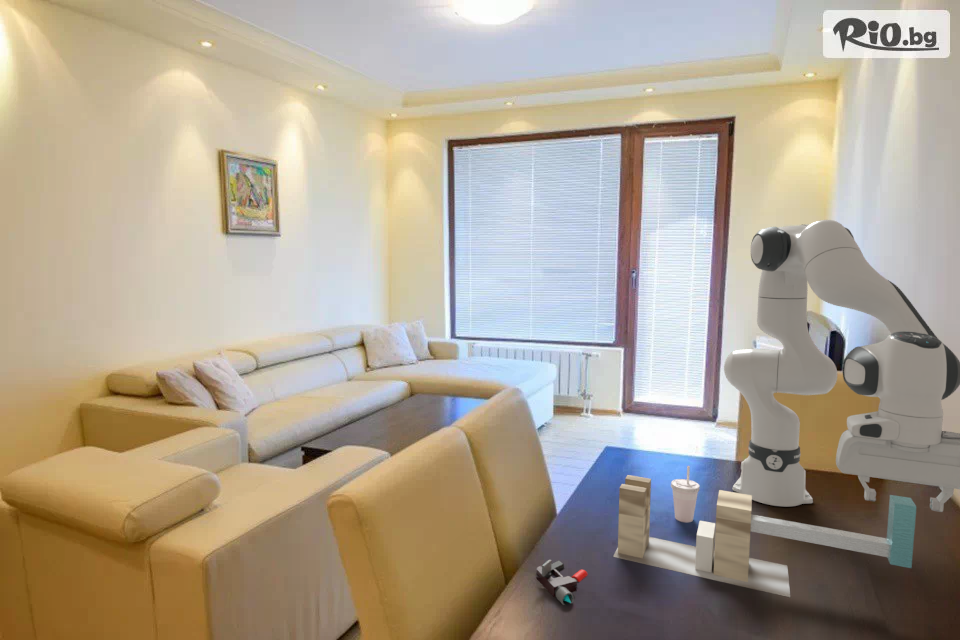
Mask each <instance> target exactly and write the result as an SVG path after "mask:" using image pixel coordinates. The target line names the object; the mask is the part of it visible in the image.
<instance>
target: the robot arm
mask: <svg viewBox="0 0 960 640" xmlns="http://www.w3.org/2000/svg"><path fill="white" fill-rule="evenodd" d="M750 258H751V262H752V263H753V265H754V266H755V268H757V269H759V270H760V271H761V272H760V277H759V278H760V279H759V285H758V294H757V295H758V296H757V313H756V314H757V315H756V316H757V317H756V322H757V326H758V328H759V329H760V330H761V331H762V332H763V333H765V334H766V335H767V336H770V337H772V338H774V339H776V340H777V341H779V342H780V343H781V345H782V347H783V348H782V349H780V350H779V349H770V348H769V349H766V348H754V347H753V348H752V347H751V348H742V349H736V350H732V351H731V352H730V353H729V354H728V356H727V357H726V359H725V361H724V365H723V369H724V370H723V371H724V375H725V378H726V379H727V381H728V382H729V383H730V385H732V386H733V387H734V388H735V389H737V390H738V392H740V394H741V395H742V396H743V398H744V399H745V401H746V403H747V405H748V408H749V411H750V419H751V420H750V422H751V423H750V424H751V436H750V437H751V438H750V440H749V441H748V442H749V444H748V448H747V449H748V457H746V458H745V459H744V460H742V461H741V464H740V470H741V473H740V476H739V478H738V479H737V480H736V481H735V483H733V485H732V491H733V492H735V493H741V494H747V495H752V501H754V502H758V503H762V504H764V505H770V506H774V507H785V508H786V507H796V506H800V505H802V504H803V505H804V504H807V505H808V504H813V503H814V501H813V497H812V495H810V493H809V492H808V491H807V489H806V477H807V476H806V475H807V474H806V470H805V469H804V467H803V466H802V465H801V464H800V462H801V461H800V460H801V447H800V445H799V444H800V443H799V442H800V428H801V427H800V425H801V422H800V421H801V420H800V417H799V416H798V414H797V413H796V412H795V411H794V410H793V409H791V408H789V407H788V406H787V405H785V404H782V403H781V402H779V401H778V400H777V399H776V398H775V396H774V394H775V393H776V394H777V393H781V394H792V395H800V396H812V395H813V396H814V395H815V396H817V395H818V396H819V395H826V394H828V393H830V391H832V389H833V388H834V387H835V386H836V384H837V380H838V370H837V366H836V364H835V363H834V361H833V360H832V359H831V358H830V357H829V356H828V355H827V354H825V353H823V351H821V350H820V349H819V348H818V346H817V345H816V344H815V342H814V341H813V338H812V337H811V335H810V333H809V328H808V317H807V316H808V311H807V310H808V309H807V308H808V285H809V287H810V288H811V290H812V292H813V293H814V294H815V295H816V296H817V297H818V298H819V299H820V300H821V301H823V302H826V303H828V304H830V305H833V306H836V307H840V308H847V309H851V310H854V311H858V312H861V313H864V314H866V315H869V316H872V317H874V318H875V319H878V320H879V321H880V322H882V323H883V324H884V326H886V328H887V330H888V331H889V333H890V334H889V335H887V336H886V338H885V339H884V340H882V341H879V342H876V343H872V344H871V343H870V344H866V345H861V346H856V347H854V348H853V349H851V350H850V351H849V352H848V354H847V355H846V356H845V357H844V360H843V363H842V378H843V381H844V382H845V384H846V385H847V387H848V388H849V389H850V390H851V391H853V392H854V393H855V394H856V395H859V396H865V397H871V398H879V404H878V408H877V409H878V410H876V411H872V412H867V413H859V414H853V415H849V416H847V418H846V427H847V429H846V430H845V431H843V432H842V433H841V436H840V437H839V441H838V444H837V449H836V455H835V464H836V467H837V469H838V470H839V471H840V472H841V473H842V474H845V475H846V474H847V475H852V476H853V475H854V476H857V477H858V480H859V482H860V484H861V485H862V487H863V489H864V492H863V493H864V495H863V497H864V500H865V501H868V502H869V501H870V502H876V501H877V497H876V496H877V491H876V489H875V488H871V487H869V485H868V484H867V483H870V478H878V479H883V480H890V481H897V482H904V483H912V484H918V485H919V484H920V485H926V486H934V487H939V489H940V490H941V492H940V493H939V494H938V495H937V496H936V497H932V496H930V497H929V502H930V503H929V509H931V510H930V511H934V512H939V513H943V512H944V507H945V506H944V505H945V503H946V502H948V501H949V499H950V498H951V497H952V496H953V495H954V491H955V490H960V433H959V432H955V431H947V430H943V423H944V422H943V421H944V409H943V407H942V401H943V400H946V398H948V397H949V396H951V395H952V394H953V393H955V392H956V390H957V389H958V388H959V387H960V359H959V358H958V356H957V355H956V354H955V353H954V352H953V350H951V348H949V347H948V346H947V345H946V344H944V343H943V341H942V340H940V339H939V337H937V335H936V334H935V333H934V331H933V330H932V329H931V328H930V326H929V325H928V324H927V323H926V321H925V320H924V318H923V317H922V315H921V314H920V313H919V312H918V310H917V309H916V308H915V306H914V304H913V303H912V302H911V301H910V300H909V298H908V297H907V296H906V295H905V293H904V292H903V291H902V289H900V287H899V286H897V285H896V284H895V283H894V282H892V281H890V280H889V279H887V278H885V277H884V276H883V275H881V273H879V272H878V271H877V270H876V269H875V268H874V267H873V266H872V265H871V264H870V263H869V262H868V260H866V258H865V256H864V255H863V253H862V250H861V248H860V247H859V245H858V243H857V242H856V240H855V238H854V235H853V233H852V232H851V230H850V229H849V228H847V227H845V226H844V225H843V224H842V223H840V222H838V221H837V220H832V219H820V220H817V221H814V222H812V223H810V224H809V223H807V224H806V223H805V224H797V225H786V226H779V227H778V226H770V227H766V228H761V229H760V230H758V231H757V232H756V233H755V235H754V236H753V238H752V239H751V245H750Z"/></svg>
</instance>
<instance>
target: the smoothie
mask: <svg viewBox="0 0 960 640" xmlns="http://www.w3.org/2000/svg"><path fill="white" fill-rule="evenodd" d="M690 467H691V466H690V465H687V467H686V468H687V469H686V479H685V478H684V479H683V478H677V479H673V480H672V481H671V482H670V488H671V489H672V498H673V509H674V511H673V512H674V519H676V521H679V522H681V523H691V522H693V520H694V515H695V512H696V504H697V500H698V495H699V491H701V490H700V484H699V483H697V481H694V480H691V479H690V470H691V469H690Z"/></svg>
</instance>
